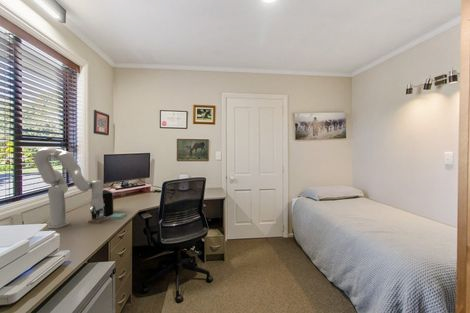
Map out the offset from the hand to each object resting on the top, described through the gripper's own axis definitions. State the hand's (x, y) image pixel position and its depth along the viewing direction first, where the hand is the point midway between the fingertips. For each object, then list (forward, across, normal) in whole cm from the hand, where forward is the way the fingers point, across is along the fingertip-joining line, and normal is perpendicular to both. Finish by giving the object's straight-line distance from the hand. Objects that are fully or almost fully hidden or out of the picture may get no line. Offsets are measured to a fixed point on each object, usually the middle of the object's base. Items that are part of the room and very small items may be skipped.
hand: (97, 216), depth 186 cm
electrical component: (+4, -20, -6) cm, 21 cm away
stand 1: (+4, 0, 0) cm, 4 cm away
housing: (+2, 0, 0) cm, 2 cm away
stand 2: (+4, -11, +10) cm, 15 cm away
